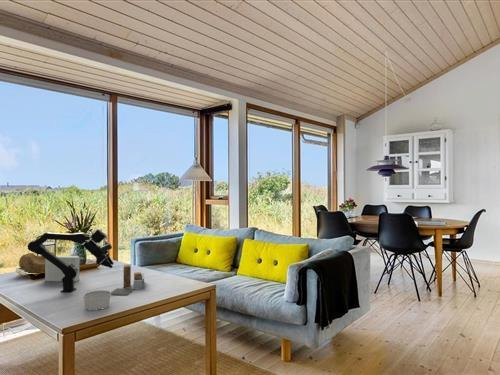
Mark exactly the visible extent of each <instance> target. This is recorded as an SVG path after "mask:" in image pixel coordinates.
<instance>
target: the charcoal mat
mask: <svg viewBox="0 0 500 375" xmlns="http://www.w3.org/2000/svg"><path fill="white" fill-rule="evenodd" d="M133 290H134V291H135V290H136V289H134V288H121V287H120V288H119V287H117V288H115V289H113V291H110V292H111V296H123V295H127V296H129V295H130V294H131V293H132V291H133ZM134 291H133V292H134ZM129 293H130V294H129ZM128 294H129V295H128Z"/></svg>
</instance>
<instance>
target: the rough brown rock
mask: <svg viewBox="0 0 500 375" xmlns="http://www.w3.org/2000/svg"><path fill="white" fill-rule="evenodd" d="M50 252H51V251H50ZM51 253H52V254H54V255H55V256H57V254H56V253H55V251H52V252H51ZM18 265H19V266H18V267H19V268H20V269H21V270H23V271H24V273H25V272H28V273H42V272H45V258H44V257H43V256H41V255H36V254H35V253H34V252H27V253H26V254H23V255H21V256H20V258H19V262H18Z"/></svg>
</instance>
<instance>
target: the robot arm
mask: <svg viewBox="0 0 500 375" xmlns="http://www.w3.org/2000/svg"><path fill="white" fill-rule="evenodd" d="M106 238H107V235H106V234H105V233H104V232H103V231H102V230H100V229H99V228H98V229H96V230H95V231H94V233H92V234H87V233H85V232H83V231H80V232H74V233H63V232H49V231H47V232H44V233H43V235H41V236H39V237H38V238H36V239H33V240H32V241H30V242H28V244H27V249H28V251H29V252H31V253H33V254H35V255H36V254H37V255H38V256H43V257H44V258H45V259H47V260H48V261H50V262H51V263H52V264H54V265H55V266H56V267H58V268H59V269H60V270H61V271H62V272H63V274H64V275H65V276H64V277H63V278H62V281H61V282H62V290H60V291H59V292H60V293H72V292H74V291H75V290H77V288H76V287H75V282H74V278H75V277H76V275H77V274H78V269H77V268H76V266H74V265H73V264H72V263H71V264H70V265H69V264H66V263H65V262H63V261H62V260H61V259H59V258H58V257H56V256H57V255H56V256H55V255H54V254H52V253H51V251H50V250H48V249H47V248H46V246H45V244H44V243H45V242H46V241H48V240H52V241H53V240H54V241H55V240H56V241H69V242H74V243H76V244H80V250H83V249H86V250H87V251H88V252H89V253H90V255H91V256H93V257H95V259H96V260H95V262H96V264H97V265H99V266H103V267H107V268H109V269H112V268H113V265H114V263H115V262H113V260H112V259H111V257H110V251H109V250H112V248H113V247H112V243H110V242H108V241H107V242H105V243H104V244H103V245H102V246H100V245H98V244H100V243H101V242H102V241H103V240H105V239H106Z"/></svg>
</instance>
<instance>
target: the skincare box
mask: <svg viewBox="0 0 500 375" xmlns="http://www.w3.org/2000/svg"><path fill="white" fill-rule="evenodd" d="M56 257H58V258H59V259H61V260H62V261H63V262H65V263H66V264H69V265H70V264H71V263H72V264H73V265H74V266H76V268H77V269H78V274H77V275H76V277H75V278H74V283H76V282H77V281H79V280H80V256H79V255H78V256H76V255H75V256H74V255H72V256H71V255H56ZM64 276H65V275H64V274H63V272H62V271H61V270H60V269H59V268H58V267H56V266H55V265H54V264H52V263H51V262H50V261H48V260H47V259H45V273H44V281H45V282H62V278H63V277H64Z"/></svg>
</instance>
